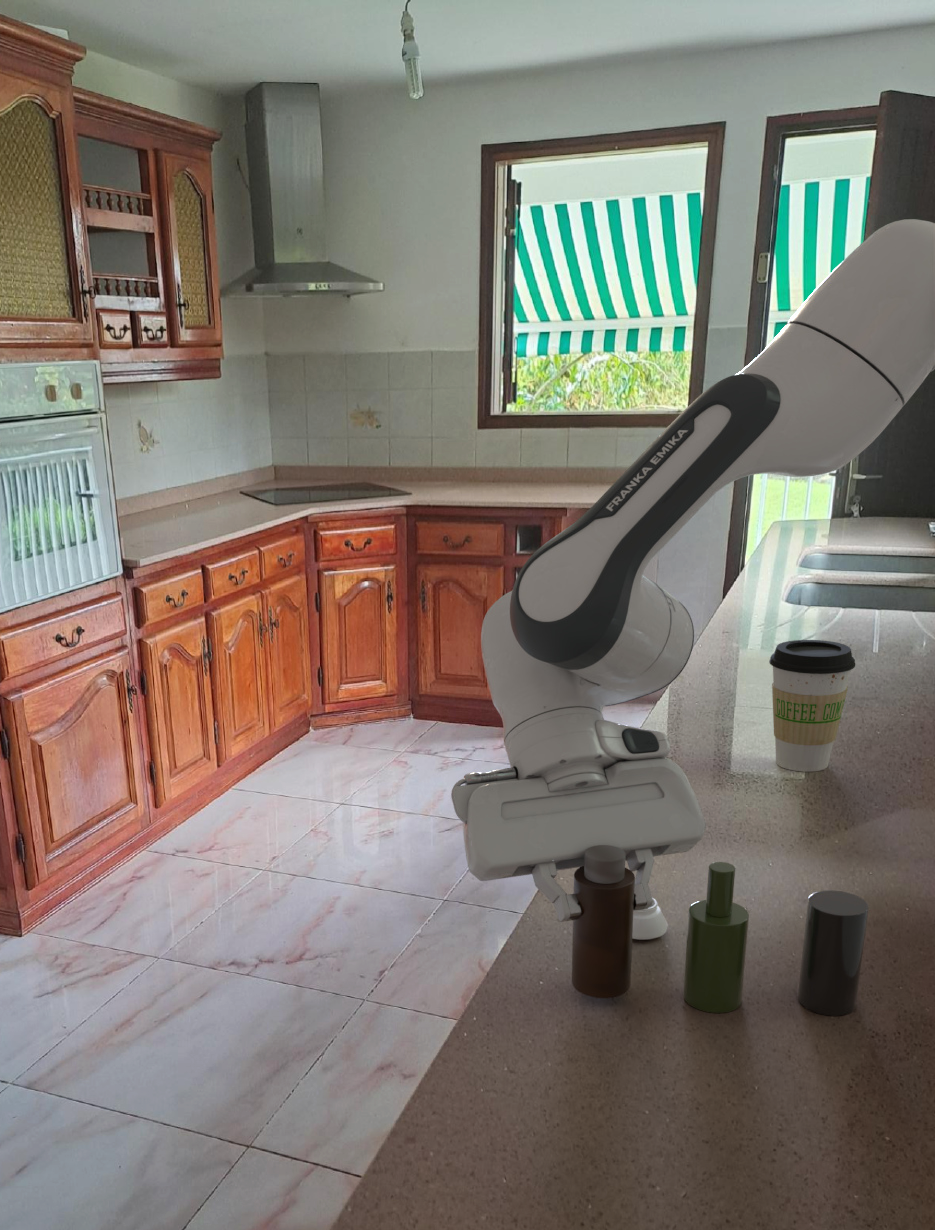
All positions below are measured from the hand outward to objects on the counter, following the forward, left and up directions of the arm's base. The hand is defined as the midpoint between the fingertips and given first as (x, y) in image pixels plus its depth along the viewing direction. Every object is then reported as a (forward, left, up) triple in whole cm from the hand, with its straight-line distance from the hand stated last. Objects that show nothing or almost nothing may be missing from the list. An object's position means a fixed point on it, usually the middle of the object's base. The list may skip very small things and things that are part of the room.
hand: (607, 913), depth 91 cm
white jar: (-4, -12, -8) cm, 15 cm away
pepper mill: (0, -1, -7) cm, 7 cm away
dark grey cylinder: (-18, 0, -8) cm, 19 cm away
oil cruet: (-9, 0, -8) cm, 12 cm away
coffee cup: (-29, -57, -8) cm, 65 cm away
